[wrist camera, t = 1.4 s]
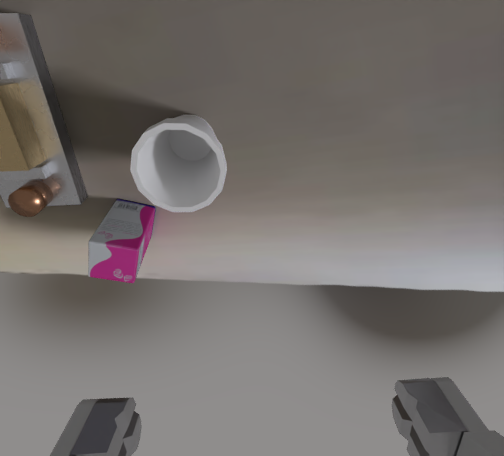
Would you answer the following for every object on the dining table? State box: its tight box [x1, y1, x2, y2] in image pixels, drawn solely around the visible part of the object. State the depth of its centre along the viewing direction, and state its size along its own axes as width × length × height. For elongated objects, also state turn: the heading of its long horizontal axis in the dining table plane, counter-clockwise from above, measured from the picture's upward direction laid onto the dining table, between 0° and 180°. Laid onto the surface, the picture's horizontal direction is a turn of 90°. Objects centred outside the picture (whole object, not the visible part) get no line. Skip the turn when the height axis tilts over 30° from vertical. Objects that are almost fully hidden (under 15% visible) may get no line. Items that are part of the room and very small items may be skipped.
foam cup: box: [130, 114, 227, 212], centre depth 36 cm, size 10×9×13 cm
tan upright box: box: [0, 83, 46, 172], centre depth 35 cm, size 9×5×4 cm, turn 1°
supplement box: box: [88, 199, 155, 283], centre depth 42 cm, size 6×6×12 cm
